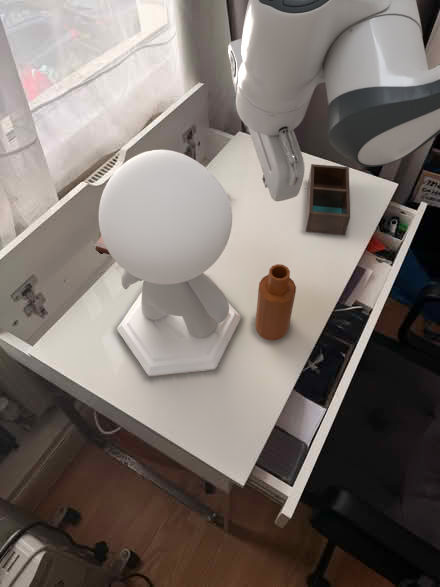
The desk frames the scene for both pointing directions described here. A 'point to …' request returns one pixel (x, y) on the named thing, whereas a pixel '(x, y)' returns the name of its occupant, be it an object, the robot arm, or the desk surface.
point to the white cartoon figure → (170, 259)
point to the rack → (328, 200)
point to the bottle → (275, 303)
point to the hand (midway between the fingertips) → (259, 154)
